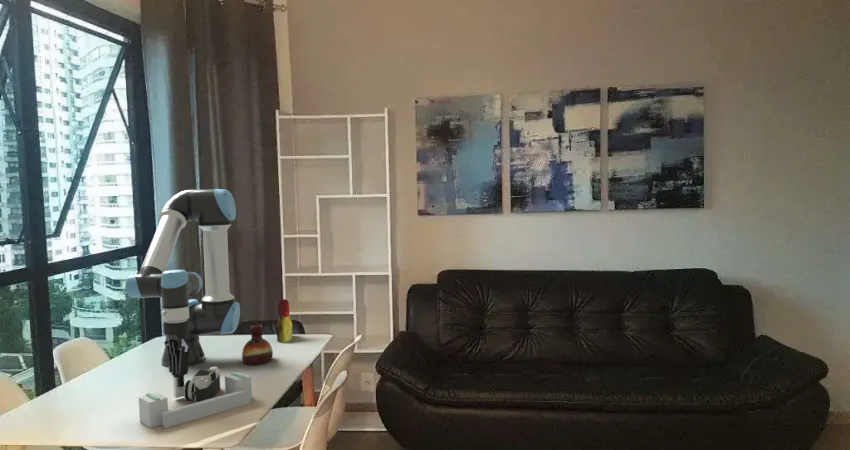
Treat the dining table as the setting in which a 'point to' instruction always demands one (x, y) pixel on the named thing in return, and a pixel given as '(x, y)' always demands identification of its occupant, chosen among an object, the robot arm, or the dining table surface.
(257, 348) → the vase
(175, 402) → the dining table surface
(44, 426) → the dining table surface
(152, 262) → the robot arm
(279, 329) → the bottle
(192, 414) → the rail mount
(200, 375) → the camera
